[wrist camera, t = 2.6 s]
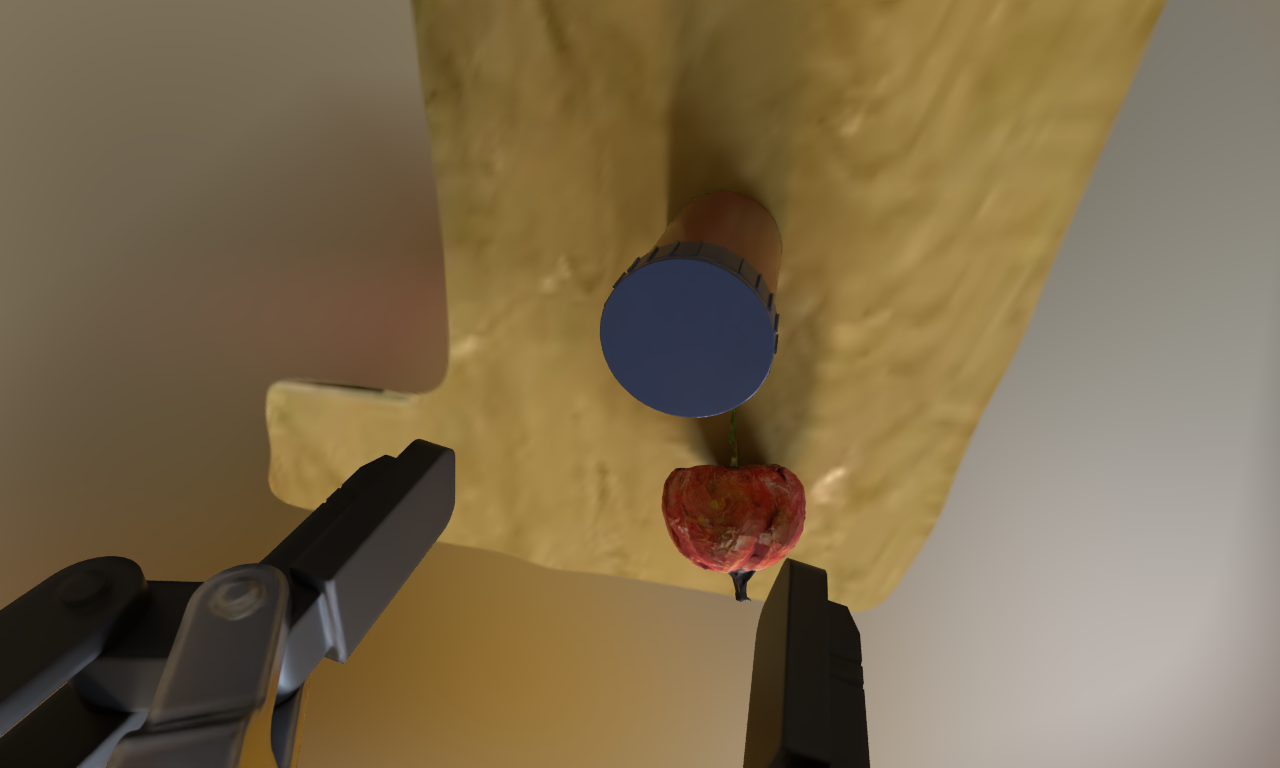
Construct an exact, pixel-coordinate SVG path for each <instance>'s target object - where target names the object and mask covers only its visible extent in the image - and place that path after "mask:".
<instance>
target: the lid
mask: <svg viewBox="0 0 1280 768" xmlns="http://www.w3.org/2000/svg"><path fill="white" fill-rule="evenodd" d="M746 260H747V259H746V258H745V257H744V258H741V257H740V256H738V255H737V254H735V253H734V252H731V251H729V250H727V249H726V246H723V247H720V246H717V245H714V244H709V243H704V242H703V240H700V241H699V242H692V241H688V242H680V240H677V241H676V242H675V243H672V244H667V245H665V246H662V247H659V248H658V246H656V247H654V249H653V250H652V251H651V252H649V253H647V254H646V255H644V256H643V257H641V258H640V257H638V258H637V259H636V260H635V261H634V262H633V264H632V265H631V266H630V267H629V269H628V270H627V273H625V272H624V273H623V274H622V275H621V277H620V278H619V279H618V280H617V282H616V283H615V284H614V286H613V288H614V290H613V291H612V292H611V294H610V296H609V298H608V299H607V301H606V302H605V304H604V309H603V312H602V317H601V323H600V340H601V346H602V351H603V354H604V357H605V360H606V362H607V364H608V366H609V368H610V370H611V372H612V373H613V375H614V376H615V378H616V379H617V380H618V382H619V383H620V384H621V385H622V386H623V387H624V388H625V389H626V390H627V391H628V392H629V393H630V394H631V395H632V396H634V397H635V398H636V399H637V400H639V401H641V402H642V403H644V404H645V405H647V406H649V407H651V408H653V409H655V410H658V411H661V412H663V413H666V414H670V415H674V416H680V417H690V418H699V417H709V416H714V415H718V414H721V413H724V412H727V411H730V410H732V409H734V408H736V407H738V406H739V405H741V404H742V403H744V402H745V401H747V400H748V399H749V398H750V397H751V396H752V395H753V394H754V393H755V392H756V391H757V390H758V389H759V388H760V386H761V385H762V383H763V382H764V380H765V379H766V377H767V375H768V374H769V372H770V368H771V364H772V361H773V356H774V354H776V352H777V344H778V334H776V332H778V323H779V314H777V312H776V307H775V303H774V293H771V292H770V290H769V288H768V286H767V284H766V282H765V281H764V280H763V274H762V273H761V274H759V273H758V272H757V271H756V270H755V268H754V267H753V266H751V265H750V264H749V263H748V262H747V261H746Z"/></svg>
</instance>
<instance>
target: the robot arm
mask: <svg viewBox="0 0 1280 768" xmlns="http://www.w3.org/2000/svg"><path fill="white" fill-rule="evenodd" d="M454 504H455V452H454V450H453V449H450V448H447V447H444V446H441V445H438V444H434V443H431V442H428V441H425V440H422V439H416V440H415V441H413V442H412V443H411V444H410V445H409V446H408V447H407V448H406V449H405V450H404V451H403V452H402V453H401V454H400V455H399V456H398V457H397V458H395V457H392V456H388V455H384V456H382V457H380V458H378V459H376V460H374V461H372V462H370V463H368V464H366V465H364V466H362V467H360V468H359V469H358V470H357V471H356V472H355V473H354V474H353V475H352V476H351V477H350V478H349V479H347V480H346V481H345V482H344V483H343V484H342V487H341V488H338V489H337V490H336V491H335V492H334V493H333V494H332V495H331V496H330V497H329V498H327V501H326V503H322V504H321V505H320V506H319V507H318V508H317V509H316V510H315V511H314V512H313V513H312V514H311V515H310V516H309V517H308V518H306V519H305V520H304V521H303V522H302V523H301V524H300V525H299V526H298V527H297V528H296V529H295V530H294V531H293V532H292V533H291V534H290V535H289V536H288V537H286V538H285V539H284V540H283V541H282V542H281V543H280V544H279V545H278V546H277V547H276V548H275V549H274V550H273V551H272V552H271V553H270V554H269V555H268V556H266V557H265V558H264V559H263V560H262V561H261V562H259V563H253V564H244V565H239V566H235V567H232V568H229V569H227V570H224V571H222V572H220V573H218V574H216V575H214V576H213V577H211V578H210V579H208V580H207V581H206V582H180V581H179V582H177V581H147V580H146V579H145V577H144V575H143V572H142V570H141V568H140V566H139V565H138V564H137V563H135V562H134V561H132V560H130V559H127V558H124V557H117V556H107V557H98V558H93V559H88V560H85V561H82V562H78V563H76V564H73V565H71V566H68V567H66V568H64V569H62V570H60V571H59V572H57V573H55V574H54V575H52V576H50V577H49V578H47V579H46V580H44V581H43V582H42V583H40V584H39V585H37V586H36V587H34V588H33V589H31V590H30V591H28V592H27V593H25V594H24V595H22V596H21V597H19V598H18V599H16V600H15V601H14V602H12V603H11V604H9V605H8V606H6V607H5V608H3V609H2V610H0V736H2V735H3V734H4V733H5V732H7V731H8V730H9V729H10V728H11V727H13V726H14V725H15V724H16V723H17V722H19V721H20V720H21V719H22V718H23V717H25V716H26V715H27V714H28V713H30V712H31V711H32V710H33V709H34V708H35V707H37V706H38V705H39V704H40V703H42V702H43V701H44V700H45V699H46V698H48V697H49V696H50V695H51V694H52V693H54V692H55V691H56V690H57V689H59V688H60V687H61V686H62V685H63V684H65V683H66V682H68V683H66V684H65V685H64V686H63V687H62V688H60V689H59V690H58V691H57V692H56V693H54V694H53V695H52V696H51V697H49V698H48V699H47V700H46V701H45V702H44V703H42V704H41V705H40V706H39V707H37V708H36V709H35V710H34V711H33V712H31V713H30V714H29V715H28V716H27V717H25V718H24V719H23V720H22V721H20V722H19V723H18V724H17V725H16V726H15V727H13V728H12V729H11V730H10V731H8V732H7V733H6V734H5V735H4V736H3V737H1V738H0V768H103V767H104V766H105V765H106V764H107V766H106V768H297V764H298V757H299V751H300V744H301V738H302V732H303V725H304V719H305V712H306V706H307V700H308V693H309V687H310V673H311V672H312V671H313V670H314V668H315V667H316V666H317V665H318V663H319V662H320V661H321V659H322V658H323V657H326V658H329V659H332V660H334V661H337V662H340V663H342V664H344V663H345V661H346V660H347V659H348V657H349V656H350V655H351V653H352V652H353V651H354V649H355V648H356V647H357V645H358V644H359V643H360V641H361V640H362V639H363V637H364V636H365V634H366V633H367V632H368V630H369V629H370V628H371V626H372V625H373V624H374V623H375V621H376V620H377V619H378V617H379V616H380V614H381V613H382V612H383V610H384V609H385V608H386V607H387V605H388V604H389V603H390V601H391V600H392V599H393V597H394V596H395V595H396V593H397V592H398V591H399V589H400V588H401V587H402V585H403V584H404V583H405V581H406V580H407V579H408V577H409V576H410V575H411V573H412V572H413V571H414V569H415V568H416V567H417V565H418V564H419V562H420V561H421V560H422V559H423V557H424V556H425V555H426V553H427V552H428V551H429V549H430V548H431V547H432V545H433V544H434V543H435V541H436V540H437V539H438V537H439V536H440V535H441V533H442V532H443V531H444V529H445V528H446V526H447V524H448V522H449V520H450V518H451V515H452V512H453V509H454ZM861 662H862V654H861V641H860V633H859V631H858V629H857V627H856V625H855V622H854V620H853V618H852V616H851V614H850V612H849V609H848V607H847V606H844V605H841V604H838V603H835V602H832V601H829V600H828V586H827V573H826V571H825V570H824V569H821V568H818V567H814V566H811V565H808V564H805V563H802V562H799V561H796V560H793V559H789V558H787V559H786V560H785V561H784V563H783V565H782V567H781V569H780V572H779V574H778V576H777V578H776V580H775V582H774V584H773V587H772V589H771V591H770V593H769V595H768V597H767V599H766V601H765V604H764V606H763V609H762V612H761V615H760V619H759V623H758V628H757V633H756V642H755V652H754V662H753V672H752V683H751V693H750V703H749V713H748V723H747V733H746V743H745V754H744V765H743V768H870V762H869V761H870V760H869V747H868V734H867V721H866V708H865V694H864V689H863V684H864V681H863V667H862V666H861Z"/></svg>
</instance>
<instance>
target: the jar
mask: <svg viewBox="0 0 1280 768" xmlns="http://www.w3.org/2000/svg"><path fill="white" fill-rule="evenodd" d="M677 240H680V242H688V241H692V242H699V241H700V240H703V242H704V243H709V244H714V245H717V246H720V247H723V246H726V249H727V250H729V251H731V252H734V253H735V254H737V255H738V256H740V257H741V258H744V257H745V258H746V259H747V260H746V261H747V262H748V263H749V264H750V265H751V266H753V267H754V268H755V270H756V271H757V272H758V273H759V274H761V273H762V274H763V280H764V281H765V282H766V284H767V286H768V288H769V290H770V292H771V293H774V303H775V298H776V291H777V284H778V277H779V270H780V263H781V255H782V241H781V235H780V232H779V229H778V226H777V224H776V222H775V220H774V219H773V217H772V216H771V214H770V213H769V212H768V211H767V210H766V208H764V207H763V206H762V205H761V204H760V203H758V202H757V201H755V200H754V199H752V198H750V197H748V196H746V195H743V194H740V193H735V192H728V191H720V192H712V193H708V194H705V195H702V196H700V197H698V198H696V199H694V200H692V201H691V202H690V203H688V204H687V205H686V206H685V207H684V208H683V209H681V211H680V212H679V213H678V214H677V216H676V217H675V218H674V220H673V221H672V222H671V224H670V225H669V226H668V228H667V229H666V230H665V232H664V233H663V234H662V236H661V237H660V238H659V240H658V241H657V242H656V244H655V245H654V246H653V248H652V249H651V250H650V252H651V251H652V250H653V249H654V247H656V246H658V248H659V247H662V246H665V245H667V244H672V243H675V242H676V241H677Z"/></svg>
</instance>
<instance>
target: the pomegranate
mask: <svg viewBox="0 0 1280 768" xmlns="http://www.w3.org/2000/svg"><path fill="white" fill-rule="evenodd" d="M731 425H732V429H731V432H730V436H729V440H730V443H731V446H732V459H731V463H730V466H726V465H722V466H717V465H700V466H694V467H692V468H676V469H675V470H674V471H673V472H671V474H670V475H669V477H668V478H667V480H666V481H665V484H664V490H663V496H662V512H663V516H664V519H665V523H666V526H667V529H668V532H669V535H670V537H671V539H672V540H673V542H674V544H675V546H676V547H677V549H678V550H679V552H680V553H681V554H682V555H683V556H685V557H686V558H687V559H689V560H690V561H691V562H692V563H693V564H695V565H697V566H699V567H700V568H702V569H705V570H713V571H718V572H724V573H726V572H728V573H729V574H730V575H731V577H732V578H733V582H734V586H735V591H736V593H735V596H736V600H737V601H740V602H741V601H744V600H745V601H751V600H750V599H749V598H748V597H747V593H746V586H747V581H748V580H749V579H750V578H751V577H752V576H753V574H754V573H755V572H756V571H758V570H762V569H764V568H766V567H768V566H771V565H773V564H775V563H777V562H778V561H780V560H781V559H782V558H784V557H785V556H786V555H787V554H788V553H789V552H790V551H791V550H792V548H793V547H794V546H795V545H796V543H797V542H798V540H799V538H800V536H801V534H802V532H803V526H804V520H805V514H806V512H805V507H806V501H805V492H804V488H803V485H802V483H801V482H800V480H799V479H798V478H797V477H796V475H795V474H794V473H792V472H791V471H790V470H788V469H787V468H785V467H782V466H780V465H777V464H771V465H770V464H769V465H745V466H738V464H737V458H738V449H737V442H736V431H735V409H733V411H732V417H731Z"/></svg>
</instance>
